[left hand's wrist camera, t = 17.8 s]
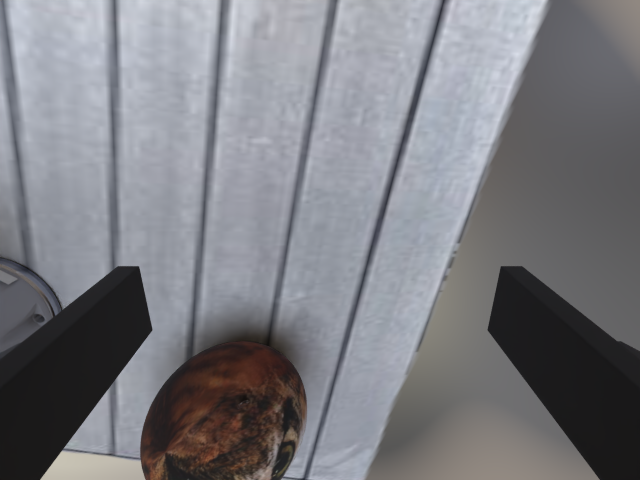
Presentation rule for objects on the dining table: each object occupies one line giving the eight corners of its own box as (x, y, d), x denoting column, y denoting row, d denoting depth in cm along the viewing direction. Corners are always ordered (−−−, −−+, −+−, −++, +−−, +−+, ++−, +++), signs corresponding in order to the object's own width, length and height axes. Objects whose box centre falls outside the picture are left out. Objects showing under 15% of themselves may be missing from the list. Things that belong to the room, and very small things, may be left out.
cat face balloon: (258, 491, 52) (132, 594, 34) (210, 383, 59) (85, 422, 41) (369, 416, 45) (283, 494, 28) (299, 304, 52) (197, 312, 35)
